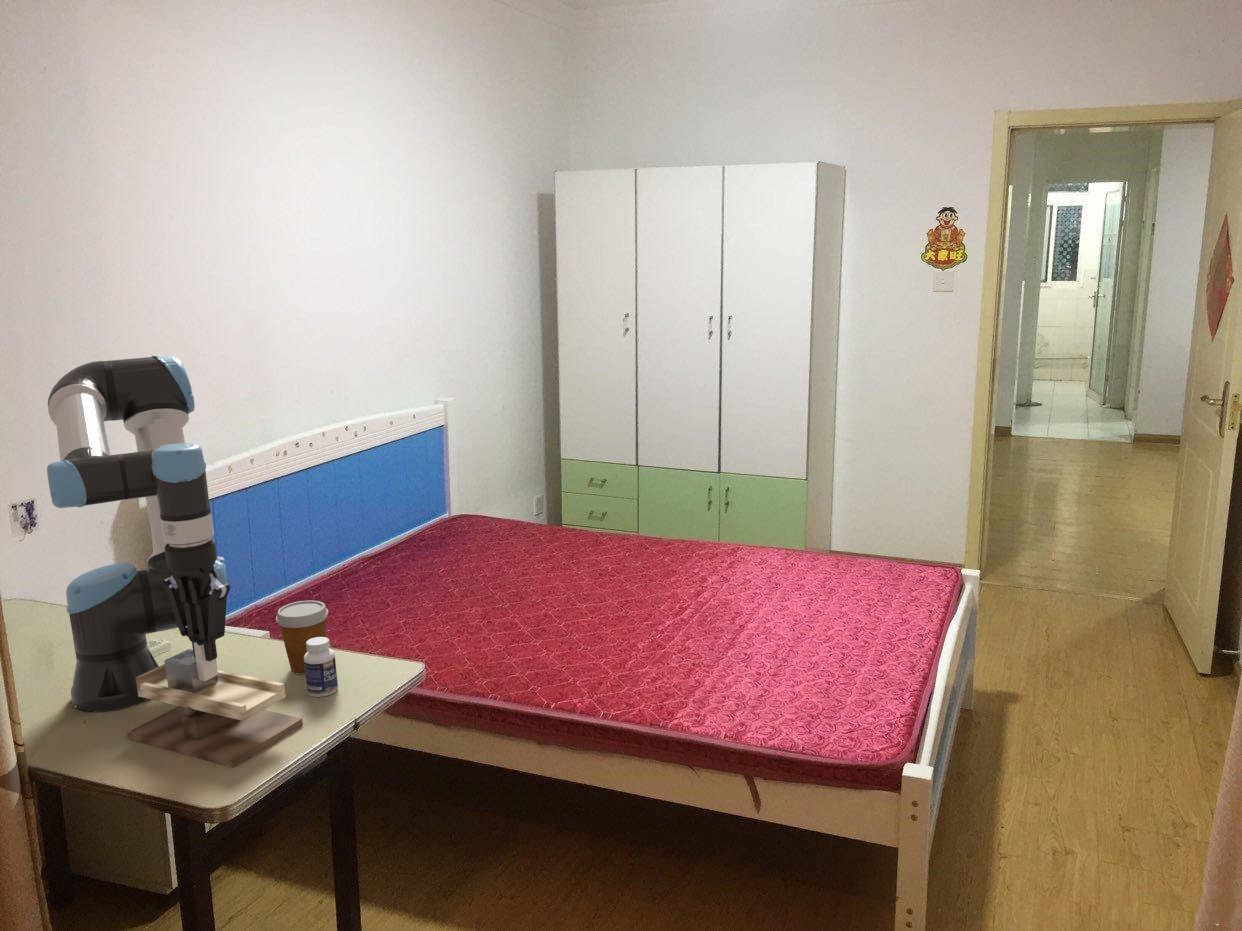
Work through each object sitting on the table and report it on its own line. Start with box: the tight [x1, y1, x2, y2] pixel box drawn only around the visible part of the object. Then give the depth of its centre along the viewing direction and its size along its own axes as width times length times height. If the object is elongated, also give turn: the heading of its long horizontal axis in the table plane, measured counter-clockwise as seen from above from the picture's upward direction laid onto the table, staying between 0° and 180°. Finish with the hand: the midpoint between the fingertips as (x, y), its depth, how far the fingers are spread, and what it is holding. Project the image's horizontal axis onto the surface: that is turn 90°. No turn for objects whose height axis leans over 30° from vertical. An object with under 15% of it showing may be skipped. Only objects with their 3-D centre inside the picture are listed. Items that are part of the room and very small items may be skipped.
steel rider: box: [163, 648, 218, 693], centre depth 169 cm, size 6×5×5 cm
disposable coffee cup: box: [275, 600, 329, 675], centre depth 192 cm, size 10×10×12 cm
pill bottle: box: [304, 636, 339, 698], centre depth 182 cm, size 5×5×10 cm
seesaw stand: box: [127, 706, 304, 768], centre depth 169 cm, size 24×15×5 cm, turn 64°
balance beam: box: [136, 663, 287, 721], centre depth 167 cm, size 24×10×4 cm, turn 64°
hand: (208, 677), depth 167 cm, fingers closed
